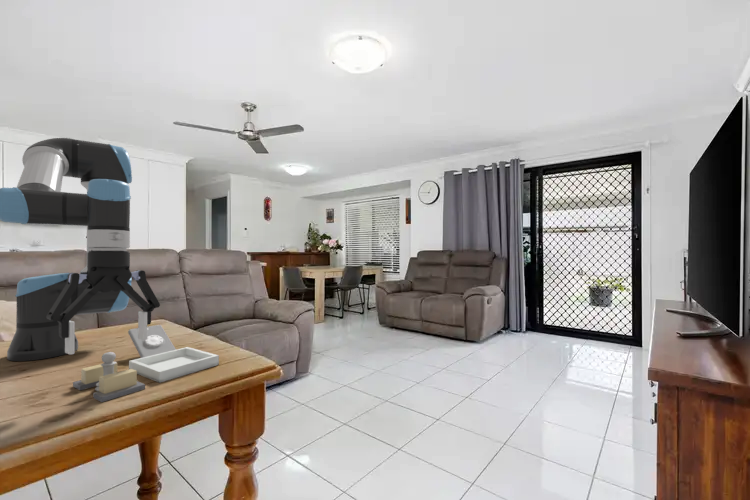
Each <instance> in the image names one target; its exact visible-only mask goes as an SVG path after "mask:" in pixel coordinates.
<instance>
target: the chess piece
mask: <svg viewBox="0 0 750 500" xmlns="http://www.w3.org/2000/svg"><path fill="white" fill-rule="evenodd" d="M116 356H117V355H116V353H115V352H113V351H107V352H104V353H103V354H102V356H101V361H102V362H103V363H100V364H101V366H103V371H104V374H103V376H105V375H109V374H113V373H114V365H115V364H116V363H117V364H118V362H117V361H115V359H117V357H116ZM94 390H95V392H98V391H99V382H98V383H97V384H96V386H95V388H94Z"/></svg>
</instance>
